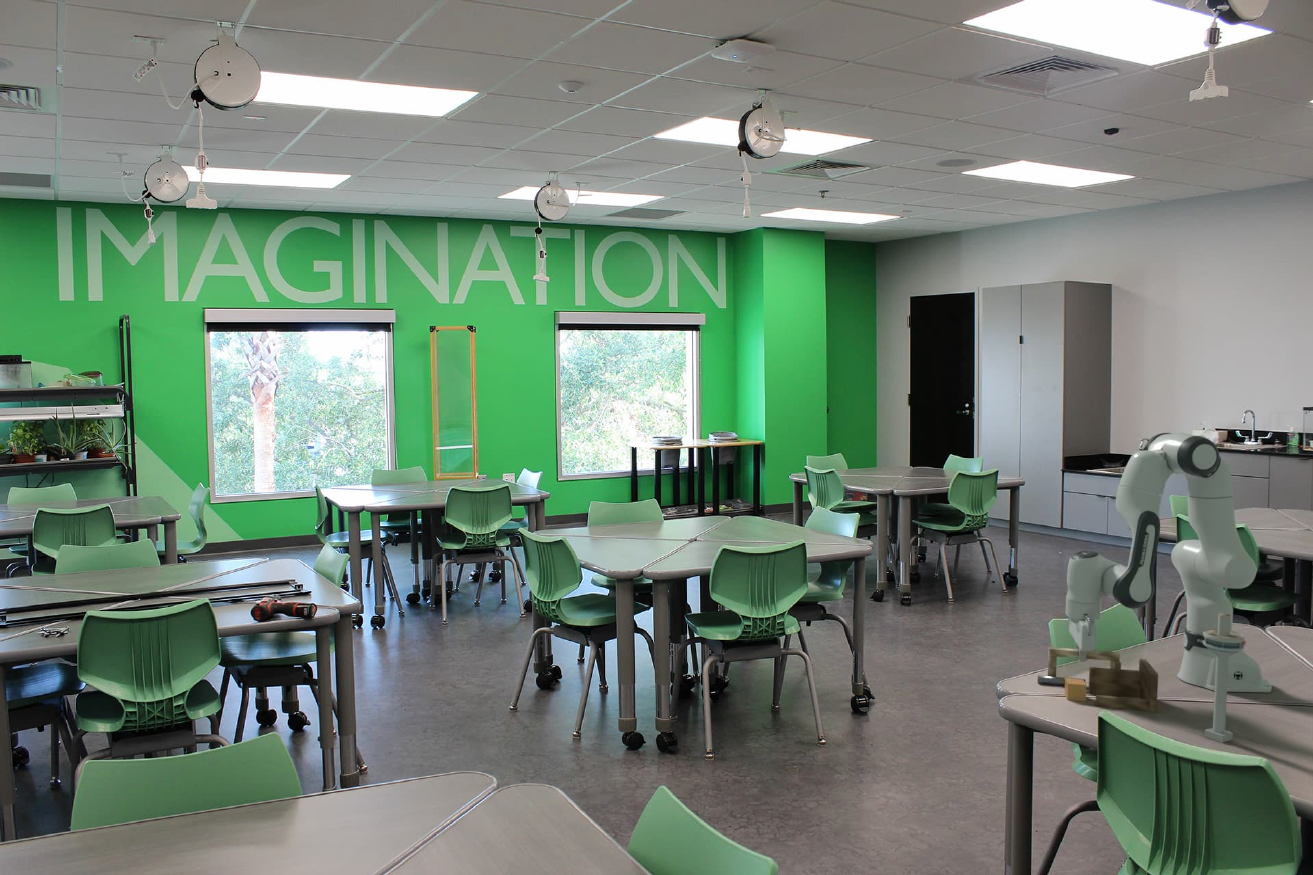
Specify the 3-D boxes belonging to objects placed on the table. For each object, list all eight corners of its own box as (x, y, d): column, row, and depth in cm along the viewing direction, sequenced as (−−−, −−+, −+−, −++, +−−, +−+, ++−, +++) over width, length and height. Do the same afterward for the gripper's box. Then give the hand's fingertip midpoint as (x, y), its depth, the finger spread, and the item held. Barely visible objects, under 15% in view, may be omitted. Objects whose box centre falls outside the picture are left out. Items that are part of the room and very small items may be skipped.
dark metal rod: (1085, 680, 260) (1085, 688, 260) (1083, 677, 263) (1083, 686, 263) (1038, 676, 263) (1038, 685, 263) (1037, 674, 266) (1037, 682, 266)
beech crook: (1115, 677, 264) (1116, 649, 263) (1120, 684, 258) (1121, 656, 258) (1046, 672, 269) (1047, 644, 268) (1049, 679, 263) (1050, 651, 262)
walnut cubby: (1144, 695, 255) (1145, 658, 254) (1156, 712, 242) (1158, 674, 241) (1087, 690, 258) (1089, 654, 257) (1097, 707, 246) (1098, 669, 245)
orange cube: (1082, 695, 255) (1083, 679, 254) (1085, 701, 250) (1086, 684, 250) (1064, 694, 256) (1065, 678, 255) (1067, 700, 251) (1068, 683, 251)
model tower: (1212, 728, 231) (1217, 608, 229) (1246, 740, 224) (1253, 616, 222) (1190, 735, 227) (1196, 612, 225) (1225, 747, 220) (1231, 620, 218)
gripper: (1103, 620, 251) (1101, 671, 252) (1088, 601, 271) (1086, 649, 272) (1077, 618, 253) (1075, 669, 254) (1064, 600, 273) (1063, 647, 274)
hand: (1081, 658), depth 263 cm, fingers closed on beech crook
